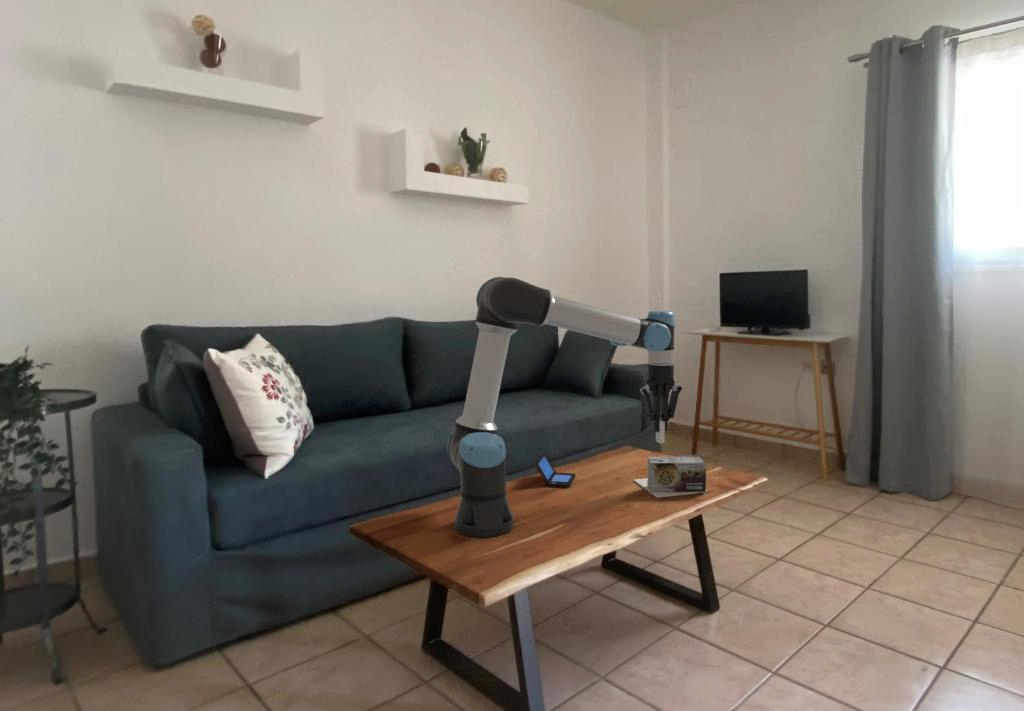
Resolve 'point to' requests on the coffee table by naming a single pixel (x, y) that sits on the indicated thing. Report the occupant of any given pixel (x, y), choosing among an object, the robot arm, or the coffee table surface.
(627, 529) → the coffee table surface
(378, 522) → the coffee table surface
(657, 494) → the felt mat
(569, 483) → the handheld game console
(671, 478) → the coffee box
